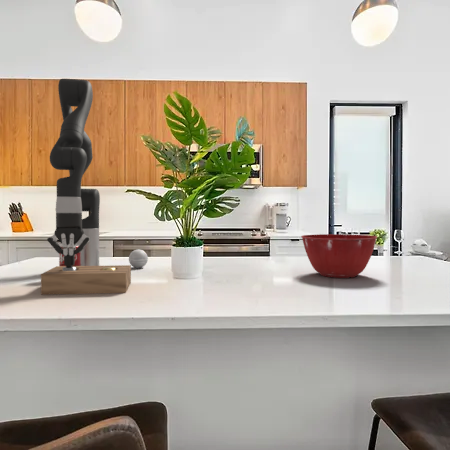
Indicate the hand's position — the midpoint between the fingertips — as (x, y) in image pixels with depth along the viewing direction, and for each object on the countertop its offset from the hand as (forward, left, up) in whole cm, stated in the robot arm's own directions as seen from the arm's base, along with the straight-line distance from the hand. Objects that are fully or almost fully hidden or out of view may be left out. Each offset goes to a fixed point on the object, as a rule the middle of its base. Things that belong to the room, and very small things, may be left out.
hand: (69, 267), depth 122 cm
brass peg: (0, +12, -7) cm, 14 cm away
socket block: (0, +6, -7) cm, 9 cm away
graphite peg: (0, 0, -6) cm, 6 cm away
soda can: (-18, -4, -7) cm, 20 cm away
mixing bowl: (-16, +96, -7) cm, 98 cm away
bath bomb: (-43, +18, -7) cm, 47 cm away
